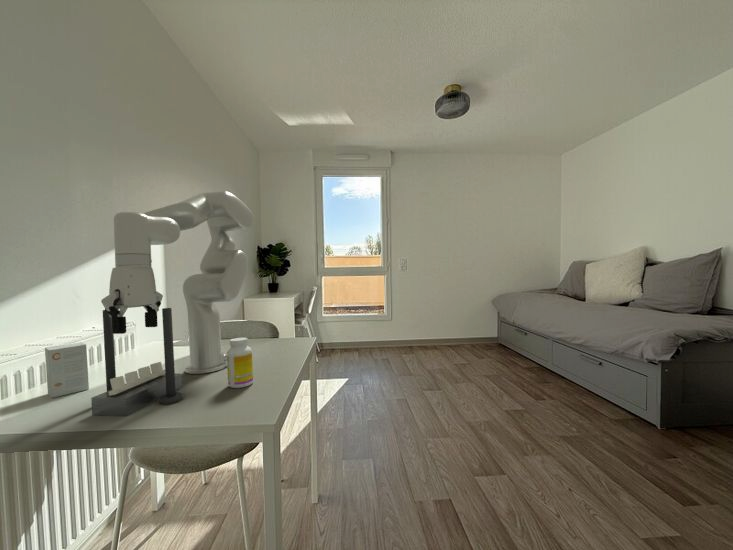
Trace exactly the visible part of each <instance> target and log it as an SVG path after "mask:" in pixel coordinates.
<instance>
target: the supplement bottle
mask: <svg viewBox="0 0 733 550" xmlns="http://www.w3.org/2000/svg"><path fill="white" fill-rule="evenodd" d="M248 339H249V338H248V337H237V338H231V339H229V346H230V348H229V349H227V351H226V354H227V361H226V362H227V366H226V367H227V369H226V370H227V385H228V386H229V387H230V388H234V389H240V388H241V389H242V388H245V387H246V388H247V387H248V386H251V385H252V384H253V383H254V368H253V365H254V364H253V351H252V348H251V347H250V346H248V342H249V341H248Z"/></svg>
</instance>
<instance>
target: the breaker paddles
mask: <svg viewBox="0 0 733 550" xmlns="http://www.w3.org/2000/svg"><path fill="white" fill-rule="evenodd" d="M163 374H165V369H163V366H162V361H158V362H155V363H151V364H149V365H148V366H143V367H140V368H138V369H137V370H134V371H129V372H126V373H124V375H120V376H116V377H115V378H112V379H110V382H111V386H112V390H111V391H109V396H111V395H115V394H118V393H120V392H122V391H125V390H127V389H129V388H132V387H134V386H137V385H139V384H141V383H144V382H146V381H148V380H151V379H153V378H156V377H158V376H160V375H163ZM124 378H125V380H124ZM139 378H140V379H139ZM125 382H126V383H125ZM125 384H126V385H125Z"/></svg>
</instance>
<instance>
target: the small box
mask: <svg viewBox="0 0 733 550" xmlns="http://www.w3.org/2000/svg"><path fill="white" fill-rule="evenodd" d="M87 350H88V349H87V344H86V343H84V342H81V341H79V342H75V343H74V342H73V343H67V344H66V343H65V344H59V345H54V346H48V347H47V346H46V347H44V354H45V355H44V358H45V372H46V384H47V386H46V389H47V394H48V395H49V397H50V398H51V399H53V397H54V398H58V397H62V396H66V395H71V394H74V393H78V392H79V393H80V392H83V391H88V390H89V389H90V386H89V385H90V383H89V382H90V381H89V368H88V353H87V352H88V351H87Z"/></svg>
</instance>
